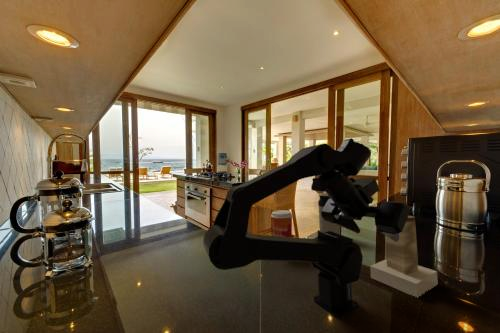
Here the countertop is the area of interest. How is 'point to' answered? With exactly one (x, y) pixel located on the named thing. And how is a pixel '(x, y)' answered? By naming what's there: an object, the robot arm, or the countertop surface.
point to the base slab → (405, 278)
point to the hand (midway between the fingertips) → (376, 235)
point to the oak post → (403, 249)
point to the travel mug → (323, 224)
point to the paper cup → (282, 223)
